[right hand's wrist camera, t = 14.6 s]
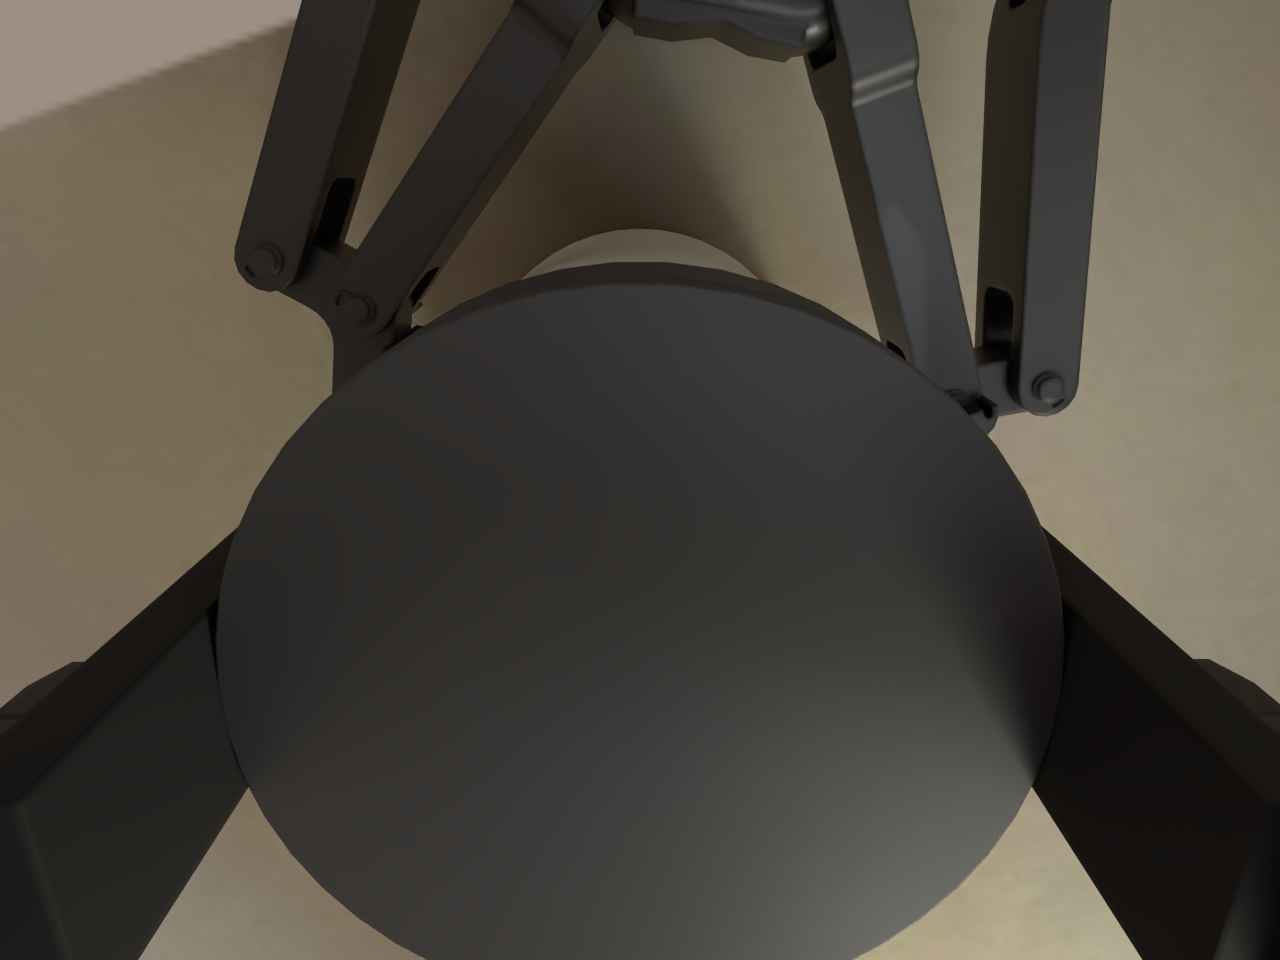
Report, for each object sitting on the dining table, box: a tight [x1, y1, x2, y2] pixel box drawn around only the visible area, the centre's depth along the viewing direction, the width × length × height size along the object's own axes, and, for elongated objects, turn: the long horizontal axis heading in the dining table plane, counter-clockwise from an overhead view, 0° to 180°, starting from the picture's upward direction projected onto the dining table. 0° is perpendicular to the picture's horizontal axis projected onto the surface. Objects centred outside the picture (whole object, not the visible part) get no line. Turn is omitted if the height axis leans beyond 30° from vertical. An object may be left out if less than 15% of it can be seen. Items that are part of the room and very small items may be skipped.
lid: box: [215, 262, 1065, 960], centre depth 11 cm, size 10×10×2 cm
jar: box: [521, 229, 759, 280], centre depth 18 cm, size 10×10×15 cm
